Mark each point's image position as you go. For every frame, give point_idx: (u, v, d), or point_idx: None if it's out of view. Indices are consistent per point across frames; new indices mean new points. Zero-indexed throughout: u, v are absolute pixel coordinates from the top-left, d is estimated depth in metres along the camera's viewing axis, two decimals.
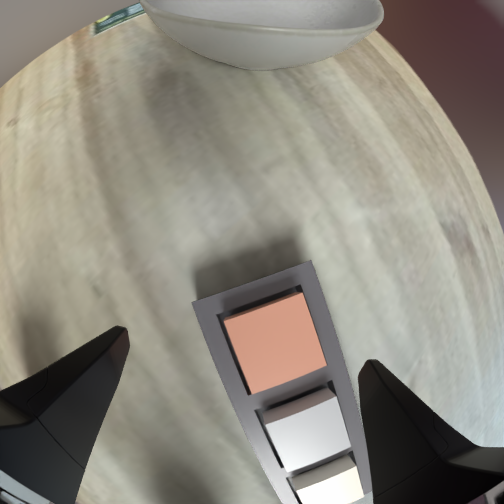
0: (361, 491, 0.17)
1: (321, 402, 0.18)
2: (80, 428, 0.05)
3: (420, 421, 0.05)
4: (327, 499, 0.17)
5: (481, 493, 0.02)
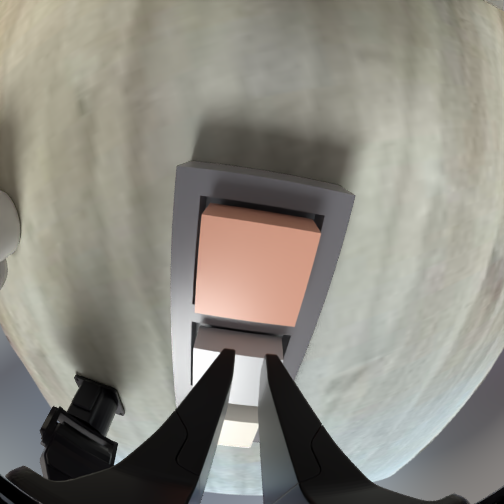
0: (250, 443, 0.23)
1: None
2: (209, 465, 0.05)
3: (294, 433, 0.05)
4: None
5: None
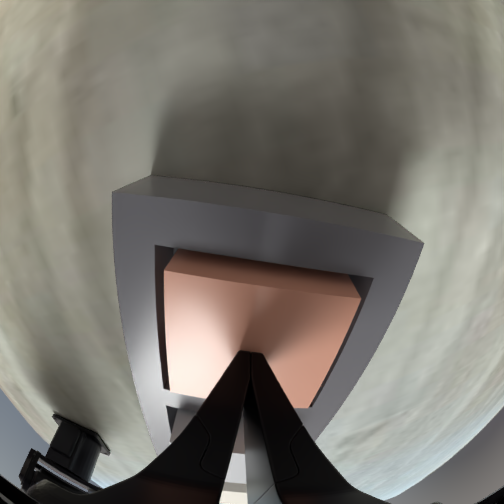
0: None
1: None
2: None
3: (273, 432, 0.05)
4: None
5: None
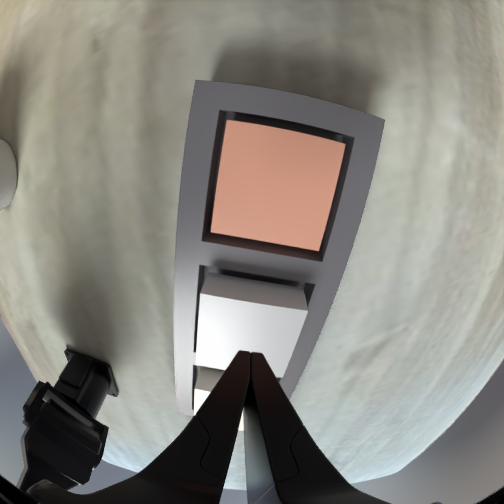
0: None
1: (286, 306, 0.15)
2: None
3: (273, 432, 0.05)
4: None
5: None
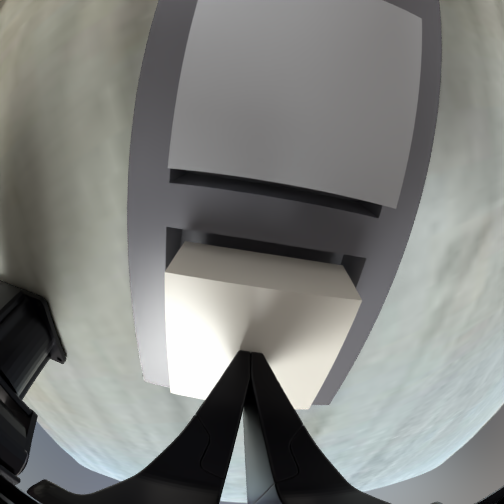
0: (314, 392, 0.10)
1: (382, 2, 0.04)
2: None
3: (273, 432, 0.05)
4: None
5: None
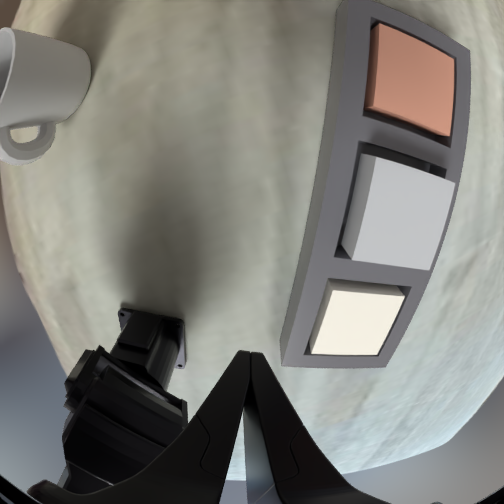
0: (381, 343, 0.20)
1: None
2: None
3: (273, 432, 0.05)
4: (349, 329, 0.19)
5: None
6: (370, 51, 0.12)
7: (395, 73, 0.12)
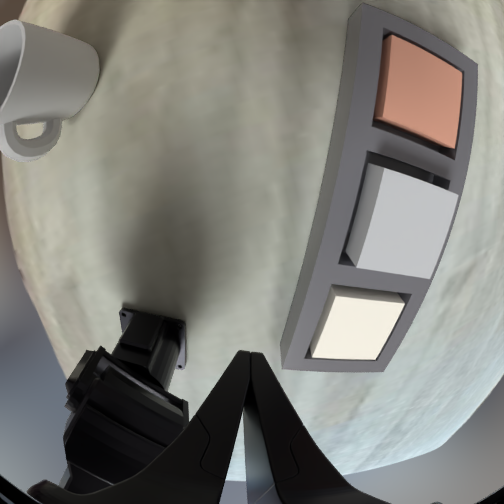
0: (380, 348, 0.20)
1: None
2: None
3: (273, 432, 0.05)
4: (350, 334, 0.19)
5: None
6: (381, 62, 0.13)
7: (405, 85, 0.12)
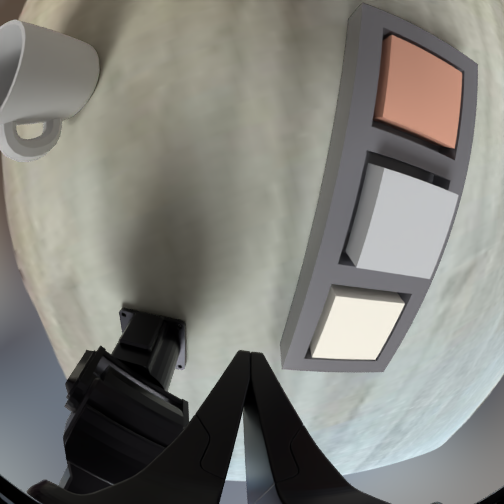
0: (380, 348, 0.20)
1: None
2: None
3: (273, 432, 0.05)
4: (350, 334, 0.19)
5: None
6: (381, 62, 0.13)
7: (405, 85, 0.12)
